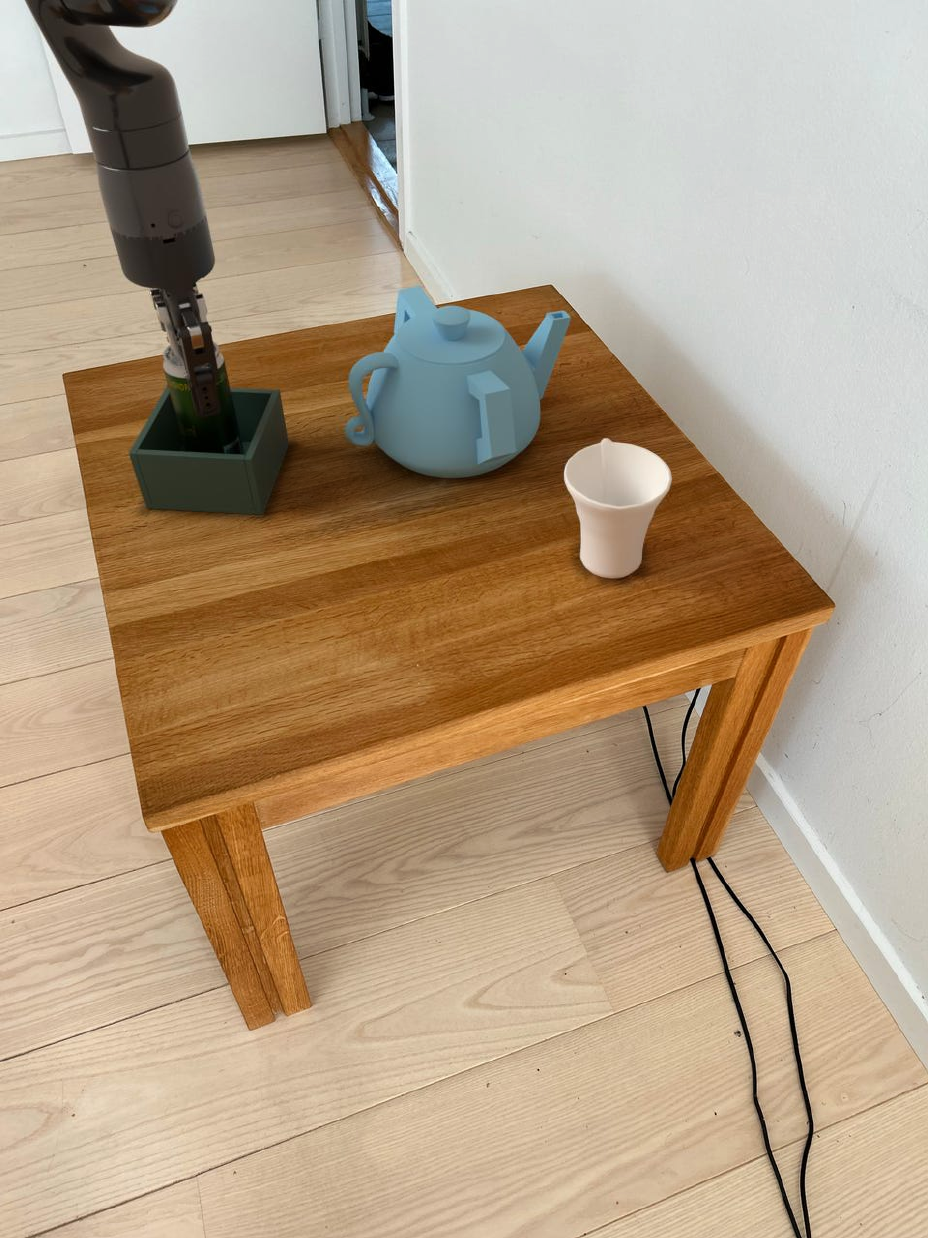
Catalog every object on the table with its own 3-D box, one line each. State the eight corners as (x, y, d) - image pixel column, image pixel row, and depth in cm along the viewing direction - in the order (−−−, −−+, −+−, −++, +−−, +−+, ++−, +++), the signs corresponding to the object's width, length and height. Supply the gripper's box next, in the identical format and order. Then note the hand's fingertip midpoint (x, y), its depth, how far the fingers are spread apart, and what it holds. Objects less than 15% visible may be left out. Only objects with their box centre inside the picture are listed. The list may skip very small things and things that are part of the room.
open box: (146, 508, 89) (128, 453, 84) (181, 438, 97) (167, 384, 92) (263, 515, 88) (251, 459, 83) (289, 444, 96) (280, 389, 91)
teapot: (500, 509, 88) (504, 382, 78) (324, 462, 94) (307, 337, 84) (566, 405, 100) (576, 284, 91) (406, 369, 106) (400, 250, 96)
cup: (643, 522, 87) (659, 433, 80) (664, 591, 81) (684, 502, 73) (550, 526, 87) (557, 437, 79) (563, 596, 80) (572, 507, 73)
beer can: (254, 451, 92) (232, 342, 83) (228, 483, 89) (202, 372, 80) (207, 441, 93) (180, 332, 85) (179, 472, 90) (148, 361, 81)
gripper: (92, 187, 77) (144, 368, 89) (126, 258, 68) (178, 449, 80) (182, 172, 79) (221, 351, 91) (226, 239, 70) (262, 428, 82)
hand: (201, 396), depth 86 cm, fingers closed on beer can, 5 cm apart
